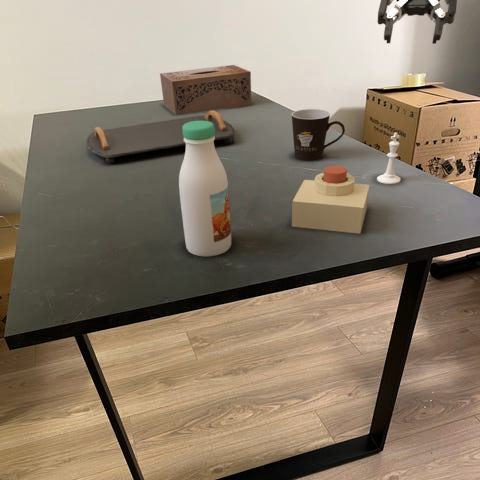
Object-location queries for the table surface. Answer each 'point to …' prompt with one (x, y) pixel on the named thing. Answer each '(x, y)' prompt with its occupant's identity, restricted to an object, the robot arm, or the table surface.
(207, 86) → the tissue box cover
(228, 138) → the serving tray
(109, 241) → the table surface
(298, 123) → the coffee mug
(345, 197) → the button base
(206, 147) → the milk bottle
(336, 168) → the lid button
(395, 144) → the chess piece
